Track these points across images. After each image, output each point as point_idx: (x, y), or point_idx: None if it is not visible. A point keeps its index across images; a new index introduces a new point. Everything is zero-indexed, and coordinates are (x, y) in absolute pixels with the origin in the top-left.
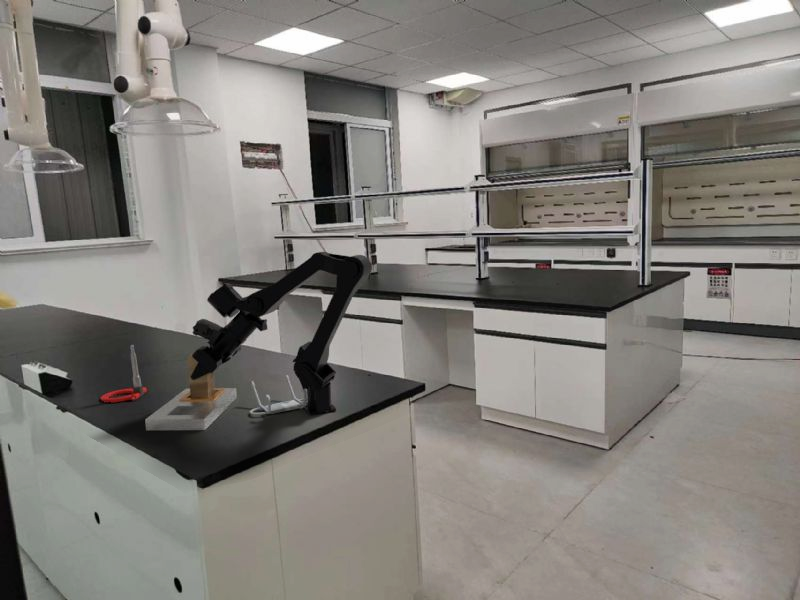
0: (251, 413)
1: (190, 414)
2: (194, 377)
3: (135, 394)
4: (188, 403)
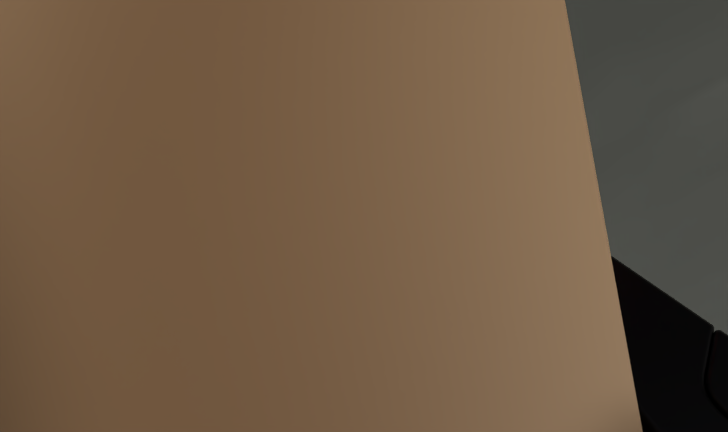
0: None
1: None
2: None
3: None
4: None
